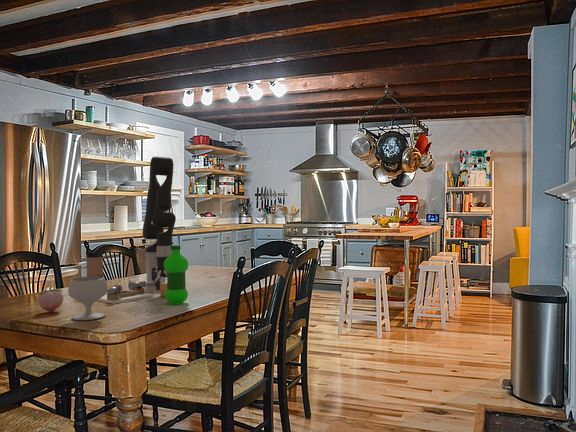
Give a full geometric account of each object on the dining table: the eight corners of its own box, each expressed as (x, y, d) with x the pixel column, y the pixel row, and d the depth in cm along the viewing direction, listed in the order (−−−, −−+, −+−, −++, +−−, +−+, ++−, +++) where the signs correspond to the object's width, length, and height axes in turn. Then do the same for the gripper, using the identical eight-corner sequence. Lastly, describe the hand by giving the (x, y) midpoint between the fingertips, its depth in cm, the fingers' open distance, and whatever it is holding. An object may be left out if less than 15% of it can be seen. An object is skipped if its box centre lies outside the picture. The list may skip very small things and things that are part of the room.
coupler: (166, 295, 246) (166, 282, 246) (173, 296, 243) (172, 283, 243) (157, 296, 243) (157, 283, 242) (164, 297, 239) (164, 284, 239)
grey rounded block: (113, 297, 235) (112, 284, 235) (123, 297, 235) (123, 284, 234) (105, 300, 227) (104, 287, 227) (116, 300, 227) (115, 287, 226)
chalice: (112, 313, 206) (112, 275, 205) (101, 321, 192) (100, 280, 191) (76, 314, 205) (75, 276, 205) (62, 322, 191) (61, 281, 191)
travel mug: (106, 291, 261) (105, 251, 260) (99, 293, 253) (98, 252, 253) (91, 291, 261) (90, 251, 261) (84, 293, 254) (83, 252, 253)
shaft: (142, 291, 250) (141, 279, 250) (148, 292, 247) (147, 280, 247) (127, 293, 244) (126, 281, 244) (133, 294, 241) (132, 282, 241)
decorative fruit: (56, 308, 217) (56, 284, 216) (66, 311, 211) (66, 286, 211) (33, 312, 209) (33, 287, 209) (43, 315, 204) (43, 289, 204)
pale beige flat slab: (130, 293, 253) (130, 287, 253) (152, 297, 241) (152, 291, 241) (92, 299, 238) (92, 293, 238) (113, 303, 226) (113, 297, 226)
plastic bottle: (165, 306, 218) (164, 246, 217) (164, 302, 228) (163, 244, 228) (189, 304, 221) (188, 245, 220) (187, 300, 231) (186, 244, 230)
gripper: (147, 255, 242) (148, 290, 242) (172, 256, 236) (172, 292, 236) (158, 254, 249) (158, 288, 249) (182, 254, 243) (183, 289, 243)
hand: (165, 290), depth 243 cm, fingers open, 8 cm apart
